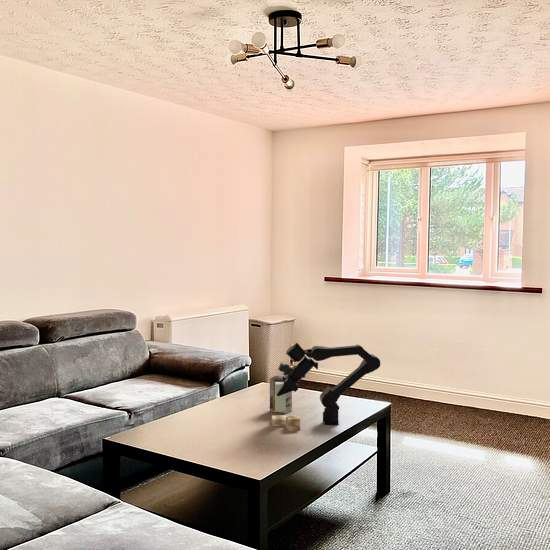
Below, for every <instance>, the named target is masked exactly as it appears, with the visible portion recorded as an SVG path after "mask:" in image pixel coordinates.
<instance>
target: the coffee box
mask: <svg viewBox="0 0 550 550" xmlns="http://www.w3.org/2000/svg"><path fill="white" fill-rule="evenodd" d="M283 376H284V375H274V376H271V377H269V412H272V411H273V412H274V413H278V412H279V413H280V414H284V415H287V414H288V413H290V411H291V412H292V411H293V404H292V403H293V391H291V392H288V393H286V411H275V382H282V381H283ZM273 412H272V413H273Z"/></svg>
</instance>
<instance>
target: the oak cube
mask: <svg viewBox="0 0 550 550" xmlns="http://www.w3.org/2000/svg"><path fill="white" fill-rule="evenodd" d="M285 429H286V430H294V431H301V418H300V417H299V416H298V415H287V416H286V426H285Z"/></svg>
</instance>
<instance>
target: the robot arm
mask: <svg viewBox="0 0 550 550" xmlns="http://www.w3.org/2000/svg"><path fill="white" fill-rule="evenodd" d="M285 354H286V355H287V356H288V357H289V358H290V359H291V360H292V361H293V362H294V363H296V362H298V363H297V364H296V365H295V364H294V365H293V366H291V365H290V364H287V363H285V362H282V361H281V362H280V364H279V366H278V371H280V372H282V376H283V381H282V382H284V385H283V386H282V388H281V389H280V390H279V392H278V393H277V396H281V395H283V394H286V393H288V392H291V391H292V392H295V393H297V391H298V390H299V383H300V381H302V379H304V378H305V377H306V375H307V374H308V373H309V372H310V371H311V370H312V369H313V368H315V369H316V370H318V369H319V362H320V361H325V360H328V359H330V358H333V357H345V356H355V355H356V356H357V355H358V356H359V357H360V358H361V359H362V360H361V363H360V364H359V365H358V367H357V368H356V369H354V370H353V371H352V372H351V373H349V374H348V375H347V376H345V378H343V379H342V380H341V381H340V382H338V383H337V384H336V385H335V386H333V387H330V386H329V385H328V386H327V387H326V388H324V390H321V393H320V395H319V401H320V403H321V404H322V406H323V407H324V409H323V411H322V423H323V425H330V426H331V425H332V426H339V423H340V422H339V420H340V419H339V410H340V406H339V404H338V403H337V402H338V400H339V398H340V397H341V395H343V394H344V393H345V392H346V391H347V390H348V389H350V388H351V387H352V386H353V385H354V384H356V383H357V382H358V381H359V380H360V379H362V378H364V376H366V375H367V374H370V373H373V372H374V371H376V370H378V369H380V367H381V359H379V357H378V356H376V355H375V354H373V353H372V354H371V353H370V352H368V351H367V350H365V348H364V346H361V344H356V345H355V344H354V345H347V346H346V345H345V346H333V347H328V346H320V345H315V346H312V347H311V348H307V349H303V347H301V345H300V344H299V343H298V342H295V343H294V344H293V345H292V346H290V347H289V348H288V349H287V350H286V352H285Z"/></svg>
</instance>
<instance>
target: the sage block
mask: <svg viewBox="0 0 550 550" xmlns="http://www.w3.org/2000/svg"><path fill="white" fill-rule="evenodd" d="M283 385H284V382H275V411H286V394H283V395H281V396H277V393H278V392H279V390H280V389H281V388H282V386H283Z"/></svg>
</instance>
